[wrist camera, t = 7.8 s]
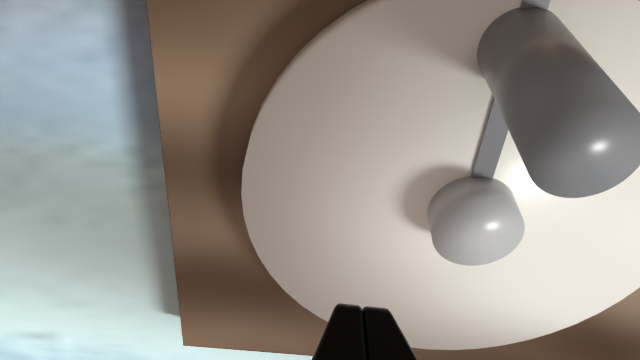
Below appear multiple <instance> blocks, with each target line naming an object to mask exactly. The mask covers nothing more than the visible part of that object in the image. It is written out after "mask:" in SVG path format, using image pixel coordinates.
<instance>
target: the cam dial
mask: <svg viewBox="0 0 640 360" xmlns="http://www.w3.org/2000/svg"><path fill="white" fill-rule="evenodd" d="M241 196H242V205H243V214H244V219H245V223H246V226H247V230H248V233H249V237H250V239H251V242H252V244H253V246H254V248H255V250H256V252H257V254H258V257H259V258H260V260H261V261H262V263H263V264H264V266H265V267H266V269H267V270H268V272H269V273H270V275H271V276H272V277H273V278H274V280H275V281H276V282H277V283H278V284H279V285H280V286H281V287H282V288H283V290H284V291H285V292H286V293H288V294H289V295H290V296H291V297H292V298H293V299H295V300H296V301H297V302H298V303H299V304H300V305H302V306H303V307H305V308H306V309H307V310H309V311H310V312H312V313H313V314H315V315H316V316H318V317H319V318H321V319H323V320H325V321H327V322H328V321H329V319H330V317H331V314H332V312H333V310H334V308H335V306H336V305H337V304H339V303H342V304H352V305H359V306H360V307H361V308H362V309H363V307H365V306H371V307H380V308H386V309H388V310H389V311H390V312H391V313H392V315H393V317H394V318H395V320H396V322H397V324H398V326H399V327H400V329H401V331H402V333H403V334H404V336H405V338H406V340H407V341H408V343H409V345H410V347H411V348H420V349H431V350H464V349H480V348H487V347H495V346H502V345H507V344H512V343H517V342H522V341H526V340H530V339H533V338H537V337H540V336H544V335H547V334H551V333H553V332H556V331H559V330H561V329H564V328H567V327H569V326H572V325H575V324H577V323H579V322H581V321H583V320H586V319H588V318H590V317H592V316H594V315H596V314H598V313H600V312H602V311H604V310H605V309H607V308H609V307H611V306H612V305H614V304H616V303H617V302H619V301H621V300H623V299H624V298H625V297H627V296H628V295H630V294H631V293H632V292H634V291H635V290H637V289H638V288H640V0H367V1H365V2H363V3H361V4H360V5H358V6H356V7H354V8H352V9H350V10H349V11H347V12H346V13H345V14H343V15H342V16H340V17H339V18H338V19H336V20H335V21H334V22H332V23H331V24H329V25H328V26H327V27H325V28H324V29H323V30H321V31H320V32H319V33H318V34H317V35H316V36H315V37H314V38H313V39H312V40H310V41H309V42H308V43H307V44H306V45H305V46H304V47H303V48H302V49H301V50H300V51H299V52H298V53H297V54H296V55H295V56H294V58H293V59H292V60H291V61H290V63H289V64H288V65H287V66H286V68H285V69H284V70H283V71H282V73H281V74H280V75H279V76H278V78H277V79H276V81H275V82H274V84H273V86H272V88H271V89H270V91H269V93H268V94H267V96H266V98H265V99H264V101H263V103H262V105H261V108H260V110H259V113H258V115H257V118H256V120H255V123H254V125H253V128H252V132H251V136H250V140H249V144H248V148H247V152H246V157H245V161H244V166H243V171H242V189H241Z"/></svg>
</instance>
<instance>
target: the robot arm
mask: <svg viewBox="0 0 640 360" xmlns="http://www.w3.org/2000/svg"><path fill="white" fill-rule="evenodd" d="M312 360H418V359H417V357H416V356H415V354H414V352H413V350H412V348H411V347H410V345H409V343H408V341H407V340H406V338H405V336H404V334H403V333H402V331H401V329H400V327H399V326H398V324H397V322H396V320H395V318H394V317H393V315H392V313H391V312H390V311H389V310H388V309H386V308H380V307H371V306H365V307H363V309H362V308H361V307H360V306H359V305H352V304H342V303H339V304H337V305H336V306H335V308H334V310H333V312H332V314H331V317H330V319H329V321H328V324H327V326H326V328H325V330H324V333H323V335H322V337H321V340H320V342H319V344H318V346H317V349H316V351H315V353H314V356H313V358H312Z"/></svg>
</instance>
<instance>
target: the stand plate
mask: <svg viewBox="0 0 640 360" xmlns="http://www.w3.org/2000/svg"><path fill="white" fill-rule="evenodd" d="M365 1H367V0H146V2H147V12H148V21H149V30H150V39H151V49H152V58H153V67H154V77H155V86H156V95H157V104H158V114H159V123H160V132H161V141H162V151H163V160H164V169H165V178H166V188H167V197H168V206H169V216H170V225H171V234H172V243H173V253H174V262H175V271H176V280H177V290H178V299H179V308H180V318H181V327H182V336H183V345H184V346H197V347H209V348H222V349H234V350H247V351H259V352H272V353H284V354H296V355H309V356H314V353H315V351H316V349H317V346H318V344H319V342H320V340H321V337H322V335H323V333H324V330H325V328H326V326H327V324H328V322H327V321H325V320H323V319H321V318H319V317H318V316H316V315H315V314H313V313H312V312H310V311H309V310H307V309H306V308H305V307H303V306H302V305H300V304H299V303H298V302H297V301H296V300H295V299H293V298H292V297H291V296H290V295H289V294H288V293H286V292H285V291H284V290H283V288H282V287H281V286H280V285H279V284H278V283H277V282H276V281H275V280H274V278H273V277H272V276H271V275H270V273H269V272H268V270H267V269H266V267H265V266H264V264H263V263H262V261H261V260H260V258H259V257H258V254H257V252H256V250H255V248H254V246H253V244H252V242H251V239H250V237H249V233H248V230H247V226H246V223H245V219H244V214H243V205H242V196H241V189H242V171H243V166H244V161H245V157H246V152H247V148H248V144H249V140H250V136H251V132H252V128H253V125H254V123H255V120H256V118H257V115H258V113H259V110H260V108H261V105H262V103H263V101H264V99H265V98H266V96H267V94H268V93H269V91H270V89H271V88H272V86H273V84H274V82H275V81H276V79H277V78H278V76H279V75H280V74H281V73H282V71H283V70H284V69H285V68H286V66H287V65H288V64H289V63H290V61H291V60H292V59H293V58H294V56H295V55H296V54H297V53H298V52H299V51H300V50H301V49H302V48H303V47H304V46H305V45H306V44H307V43H308V42H309V41H310V40H312V39H313V38H314V37H315V36H316V35H317V34H318V33H319V32H320V31H321V30H323V29H324V28H325V27H327V26H328V25H329V24H331V23H332V22H334V21H335V20H336V19H338V18H339V17H340V16H342V15H343V14H345V13H346V12H347V11H349V10H350V9H352V8H354V7H356V6H358V5H360V4H361V3H363V2H365ZM412 350H413V352H414V354H415V356H416V357H417V359H418V360H640V288H638V289H637V290H635V291H634V292H632V293H631V294H630V295H628V296H627V297H625V298H624V299H623V300H621V301H619V302H617V303H616V304H614V305H612V306H611V307H609V308H607V309H605V310H604V311H602V312H600V313H598V314H596V315H594V316H592V317H590V318H588V319H586V320H583V321H581V322H579V323H577V324H575V325H572V326H569V327H567V328H564V329H561V330H559V331H556V332H553V333H551V334H547V335H544V336H540V337H537V338H533V339H530V340H526V341H522V342H517V343H512V344H507V345H502V346H495V347H487V348H480V349H464V350H431V349H420V348H412Z"/></svg>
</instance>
